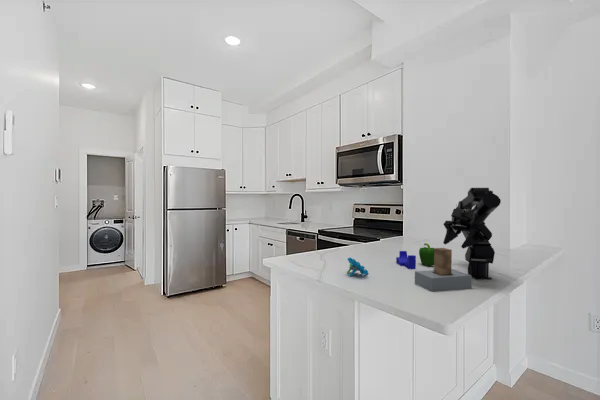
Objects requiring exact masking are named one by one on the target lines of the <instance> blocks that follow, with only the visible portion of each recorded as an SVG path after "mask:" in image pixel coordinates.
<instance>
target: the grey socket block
mask: <svg viewBox="0 0 600 400" xmlns="http://www.w3.org/2000/svg"><path fill="white" fill-rule="evenodd" d="M472 281H473V278H472V275H469V274H468V273H465V272H462V271H459V270H456V269H453V268H451V275H446V276H440V275H438V274H435V273H434V269H433V270H432V269H431V270H430V269H429V270H417V271H415V270H414V284H415V285H417V286H420V287H421V288H423V289H426V290H428V291H430V292H433V293H434V292H444V291H454V290H455V291H456V290H467V289H469V288H470V289H472ZM470 289H469V290H470Z"/></svg>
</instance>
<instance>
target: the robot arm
mask: <svg viewBox="0 0 600 400" xmlns="http://www.w3.org/2000/svg"><path fill="white" fill-rule="evenodd" d="M501 203H502V202H501V198H500V197H499V196H498V195H497V194H495V193H494V191H493V190H490V188H489V187H470V188H469V189H468V191H467V196H465V198H463V199H462V200H460V201H458V204H457V206H456V208H453V210H452V213H451V215H450V216H451V220H445V221H444V223H443V226H444V228H445V231H446V232H445V236H444V240H443V244H444V245H447V244H449V243H450V242H452V241H453V240H455V239H457V238H458V237H459V235H460V234H461V233H462V234H463V236H464V238H465V239H464V241H463V243H462V245H461V248H462V249H466V248H467V249H466V252H465V254H464V259H465V262H468V265H467V274H469V275H472V279H475V280H492V277H491V276H489V271H490V270H489V267H490V265H489V264H491V265H493V263H494V259H495V254H496V253H495V249H494V248H493V246H492V244H491V242H490V240H491V239H492V237H493V233H492V231H491V230H490V229H489V228H488V227H487V225H486V223H485V221H486V219H487V218H488V217H489V216H490V215H491V213H493V212H494V211H495V210H496V209H497V208H498V207H499V206H500V205H501Z"/></svg>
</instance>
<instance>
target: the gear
mask: <svg viewBox="0 0 600 400" xmlns="http://www.w3.org/2000/svg"><path fill="white" fill-rule="evenodd" d="M347 261H348V263H349V269H348V270H347V271H346V274H349V273H350V274H349V276H350V277H351V278H352V277H353V275H355V273H356V272H359V273H361V274H362V275H364V276H368V275H369V271H368V270H367V269H365V268H366V267H365V266H364V265H361V263H360V262H359V261H356V259H354V258H352V257H350V256H349V257H347Z"/></svg>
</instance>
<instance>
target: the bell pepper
mask: <svg viewBox="0 0 600 400" xmlns="http://www.w3.org/2000/svg"><path fill="white" fill-rule="evenodd" d="M423 245H424V246H425V247H420V248H419V251H418V252H419V253H418V254H419V260H420V262H421V264H422V265H424V266H426V267H427V266H428V267H434V248H435V247H431V246H430V244H429V243H427V242H425V243H423Z"/></svg>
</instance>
